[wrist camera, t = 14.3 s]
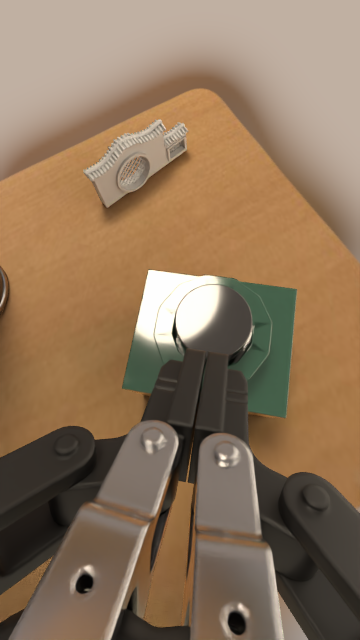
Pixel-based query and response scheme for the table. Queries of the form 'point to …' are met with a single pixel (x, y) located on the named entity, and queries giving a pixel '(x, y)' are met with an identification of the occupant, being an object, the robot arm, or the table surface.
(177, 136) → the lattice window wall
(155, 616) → the table surface
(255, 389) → the dispenser
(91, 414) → the table surface
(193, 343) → the dark push button
